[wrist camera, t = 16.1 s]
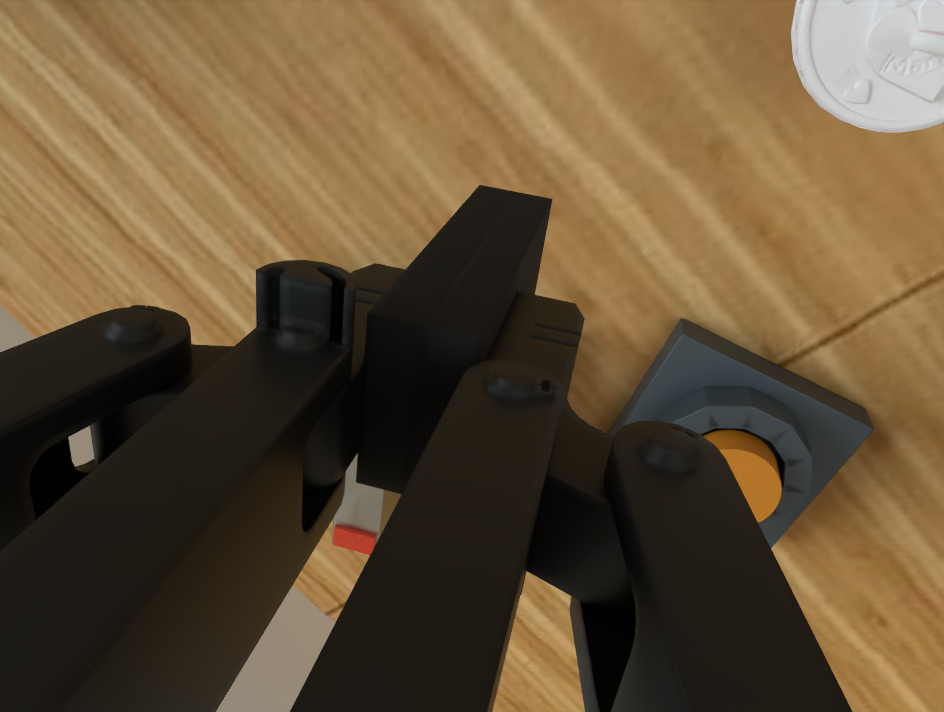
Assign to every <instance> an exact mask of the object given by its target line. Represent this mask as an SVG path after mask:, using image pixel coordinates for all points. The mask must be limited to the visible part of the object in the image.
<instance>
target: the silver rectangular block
mask: <svg viewBox="0 0 944 712" xmlns="http://www.w3.org/2000/svg"><path fill="white" fill-rule="evenodd" d="M357 458H358V453H357V455H356V456H355V458H354V460H353V461H352V463H351V464H350V466H349V467H348V469H347V470H346V476H345V493H344V497H343V500H342V504H341V506H340V508H339V509H338V511H337V513H336V514H335V516H334V517H333V534H332V544H333V545H336V546H340V547H343V548H347V549H351V550H354V551H358V552H362V553H365V554H369V555H371V553H372V551H373V549H374V547H375V545H376V543H377V541H378V539H379V537H380V536H381V534H382V532H383V530H384V528H385V526H386V524H387V522H388V520H389V518H390V516H391V514H392V512H393V510H394V508H395V506H396V504H397V502H398V500H399V499H400V497H401V495H402V494H398V493H394V492H390V491H387V490H383V489H379V488H375V487H371V486H367V485H363V484H359V483H356V472H357Z"/></svg>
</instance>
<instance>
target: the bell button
mask: <svg viewBox="0 0 944 712" xmlns="http://www.w3.org/2000/svg"><path fill="white" fill-rule="evenodd" d="M703 437H704V438H706V439H707V440H708V441H710V442H711V443H713V444H714V445H715V446H716V447H717V448H718V449H719V451H720V452H721V453H722V454H723V456H724V457H725V458H726V460H727V462H728V464H729V466H730V468H731V470H732V472H733V474H734V476H735V478H736V480H737V482H738V484H739V486H740V488H741V490H742V492H743V494H744V496H745V498H746V500H747V502H748V504H749V506H750V508H751V510H752V512H753V514H754V516H755V518H756V520H757V522H758V523H759V522H761V521H763V520H765V519H766V518H767V517H768V516H770V515H771V514H772V513H773V512H774V510H775V509H776V507H777V506H778V504H779V502H780V499H781V494H782V485H781V480H780V475H779V471H778V466H777V462H776V459H775V456H774V454H773V452H772V451H771V449H770V448H769V447H768V446H767V445H766V444H765V443H764V442H763V441H762V440H760V439H759V438H757V437H755V436H754V435H751V434H749V433H746V432H742V431H737V430H719V431H714V432H710V433H707V434H705V435H703Z"/></svg>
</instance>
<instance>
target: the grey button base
mask: <svg viewBox="0 0 944 712" xmlns="http://www.w3.org/2000/svg"><path fill="white" fill-rule="evenodd" d="M636 421H661V422H666V423H674V424H677V425H681V426H684V428H686V429H687V428H688V429H691V430H693V431H695V432H696V433H698V434H700V435H701V436H703V435H705V434H707V433H710V432H714V431H719V430H737V431H742V432H746V433H749V434H751V435H754V436H755V437H757V438H759V439H760V440H762V441H763V442H764V443H765V444H766V445H767V446H768V447H769V448H770V449H771V451H772V452H773V454H774V456H775V459H776V462H777V466H778V471H779V475H780V480H781V485H782V494H781V499H780V502H779V504H778V506H777V507H776V509H775V510H774V512H773V513H772V514H771V515H770V516H768V517H767V518H766V519H765V520H763V521H761V522H759V523H758V524H759V526H760V528H761V530H762V532H763V534H764V536H765V538H766V540H767V542H768V544H769V546H770V548H772V547H773V545H774V544H775V543H776V542H777V541H778V540H779V538H780V537H781V536H782V535H783V534H784V533H785V532H786V530H787V529H788V528H789V527H790V526H791V525H792V524H793V522H794V521H795V520H796V519H797V518H798V517H799V515H800V514H801V513H802V512H803V511H804V510H805V509H806V507H807V506H808V505H809V504H810V503H811V502H812V500H813V499H814V498H815V497H816V496H817V495H818V494H819V492H820V491H821V490H822V489H823V488H824V487H825V485H826V484H827V483H828V482H829V481H830V480H831V479H832V477H833V476H834V475H835V474H836V473H837V472H838V471H839V469H840V468H841V467H842V466H843V465H844V464H845V462H846V461H847V460H848V459H849V458H850V457H851V456H852V454H853V453H854V452H855V451H856V450H857V449H858V447H859V446H860V445H861V444H862V443H863V442H864V441H865V439H866V438H867V437H868V436H869V435H870V434H871V433H872V431H873V430H874V427H873V425H872V423H871V421H870V419H869V416H868V414H867V412H866V410H865V408H863V407H861V406H859V405H857V404H855V403H853V402H851V401H849V400H847V399H844V398H842V397H840V396H838V395H836V394H834V393H832V392H830V391H828V390H826V389H824V388H822V387H820V386H818V385H816V384H814V383H812V382H810V381H808V380H806V379H804V378H802V377H800V376H798V375H796V374H794V373H792V372H790V371H788V370H786V369H784V368H782V367H780V366H778V365H776V364H774V363H772V362H770V361H768V360H766V359H764V358H762V357H759V356H757V355H755V354H753V353H751V352H749V351H747V350H745V349H743V348H741V347H739V346H737V345H735V344H733V343H731V342H729V341H727V340H725V339H723V338H721V337H719V336H717V335H715V334H713V333H711V332H709V331H707V330H705V329H703V328H701V327H699V326H697V325H695V324H693V323H691V322H689V321H687V320H685V319H681V320H680V321H679V323H678V324H677V326H676V327H675V329H674V331H673V332H672V334H671V335H670V337H669V338H668V340H667V342H666V343H665V345H664V346H663V348H662V349H661V351H660V353H659V354H658V356H657V357H656V359H655V360H654V362H653V364H652V365H651V367H650V368H649V370H648V371H647V373H646V375H645V376H644V378H643V379H642V381H641V382H640V384H639V386H638V387H637V389H636V390H635V392H634V393H633V395H632V397H631V398H630V400H629V401H628V403H627V404H626V406H625V408H624V409H623V411H622V412H621V414H620V415H619V417H618V418H617V420H616V422H615V423H614V425H613V426H612V428H611V429H610V431H609V433H608V435H610V436H613V437H614V435H615V434H616V432H617V431H618V430H619V429H620V428H621V427H622V426H624V425H627V424H630V423H633V422H636Z"/></svg>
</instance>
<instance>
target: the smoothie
mask: <svg viewBox="0 0 944 712" xmlns="http://www.w3.org/2000/svg"><path fill="white" fill-rule="evenodd" d="M791 39H792V51H793V61H794V64H795V66H796V69H797V71H798V74H799V77H800V79H801V82H802V84H803V86H804V88H805V89H806V90H807V91H808V93H809V94H810V95H811V96H812V98H813V99H814V100H815V101H816V103H817V104H818V105H819V106H820V107H821V108H823V109H824V110H826V111H827V112H829V113H830V114H832V115H833V116H835V117H836V118H838V119H839V120H841V121H844V122H847V123H849V124H852V125H854V126H857V127H860V128H863V129H867V130H872V131H877V132H909V131H915V130H920V129H925V128H928V127H932V126H935V125H938V124H941V123H943V122H944V0H797V2H796V6H795V12H794V18H793V23H792V29H791Z"/></svg>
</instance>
